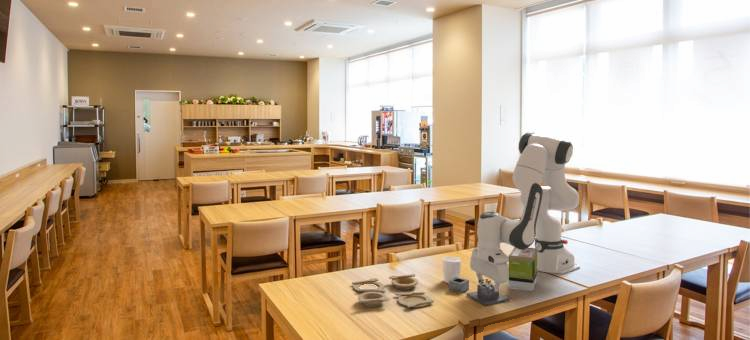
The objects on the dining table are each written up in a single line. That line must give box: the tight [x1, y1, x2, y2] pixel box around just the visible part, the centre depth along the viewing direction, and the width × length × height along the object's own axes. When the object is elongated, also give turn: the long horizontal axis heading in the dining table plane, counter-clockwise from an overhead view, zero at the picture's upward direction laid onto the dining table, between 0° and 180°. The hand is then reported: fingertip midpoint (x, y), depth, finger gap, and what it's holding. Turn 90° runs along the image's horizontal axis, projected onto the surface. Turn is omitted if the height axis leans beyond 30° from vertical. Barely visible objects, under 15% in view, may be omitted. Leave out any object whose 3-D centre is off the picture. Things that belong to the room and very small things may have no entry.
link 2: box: [476, 282, 500, 300], centre depth 194 cm, size 6×6×4 cm
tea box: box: [508, 246, 538, 292], centre depth 208 cm, size 15×10×15 cm
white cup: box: [442, 256, 462, 284], centre depth 214 cm, size 8×8×10 cm
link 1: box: [448, 277, 470, 294], centre depth 204 cm, size 6×6×4 cm
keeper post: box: [466, 278, 511, 307], centre depth 194 cm, size 12×12×8 cm
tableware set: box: [351, 273, 435, 308], centre depth 200 cm, size 35×29×4 cm
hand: (488, 287), depth 194 cm, fingers open, 8 cm apart
